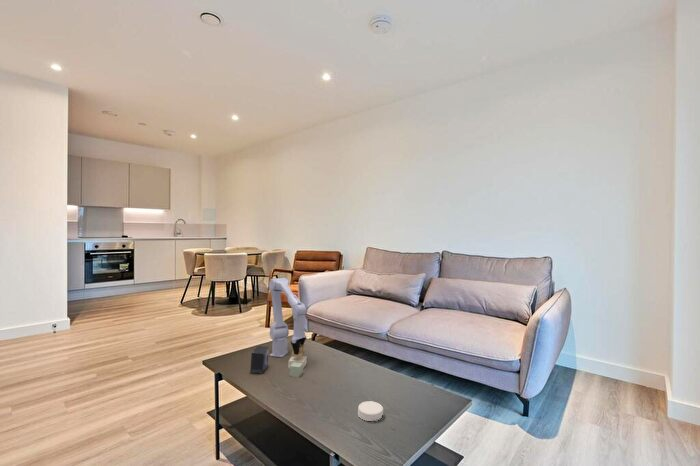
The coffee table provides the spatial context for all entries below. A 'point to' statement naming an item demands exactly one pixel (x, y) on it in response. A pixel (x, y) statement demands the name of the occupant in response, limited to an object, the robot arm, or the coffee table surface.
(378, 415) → the coaster
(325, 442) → the coffee table surface
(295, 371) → the sage cube
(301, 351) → the oak cube
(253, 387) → the coffee table surface
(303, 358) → the base block
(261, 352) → the small box
